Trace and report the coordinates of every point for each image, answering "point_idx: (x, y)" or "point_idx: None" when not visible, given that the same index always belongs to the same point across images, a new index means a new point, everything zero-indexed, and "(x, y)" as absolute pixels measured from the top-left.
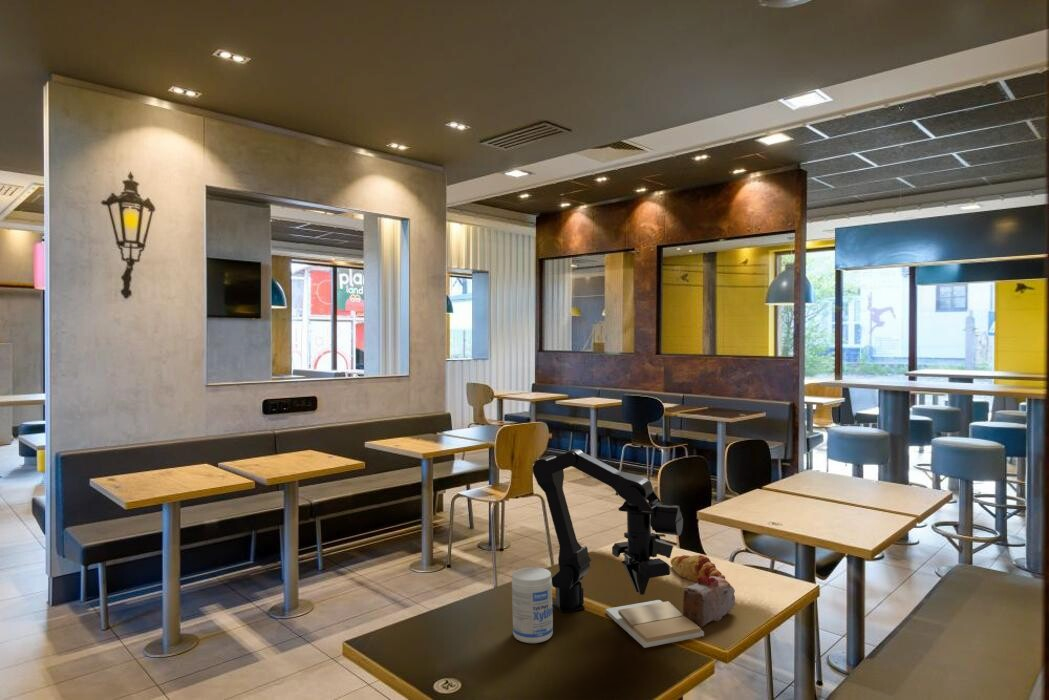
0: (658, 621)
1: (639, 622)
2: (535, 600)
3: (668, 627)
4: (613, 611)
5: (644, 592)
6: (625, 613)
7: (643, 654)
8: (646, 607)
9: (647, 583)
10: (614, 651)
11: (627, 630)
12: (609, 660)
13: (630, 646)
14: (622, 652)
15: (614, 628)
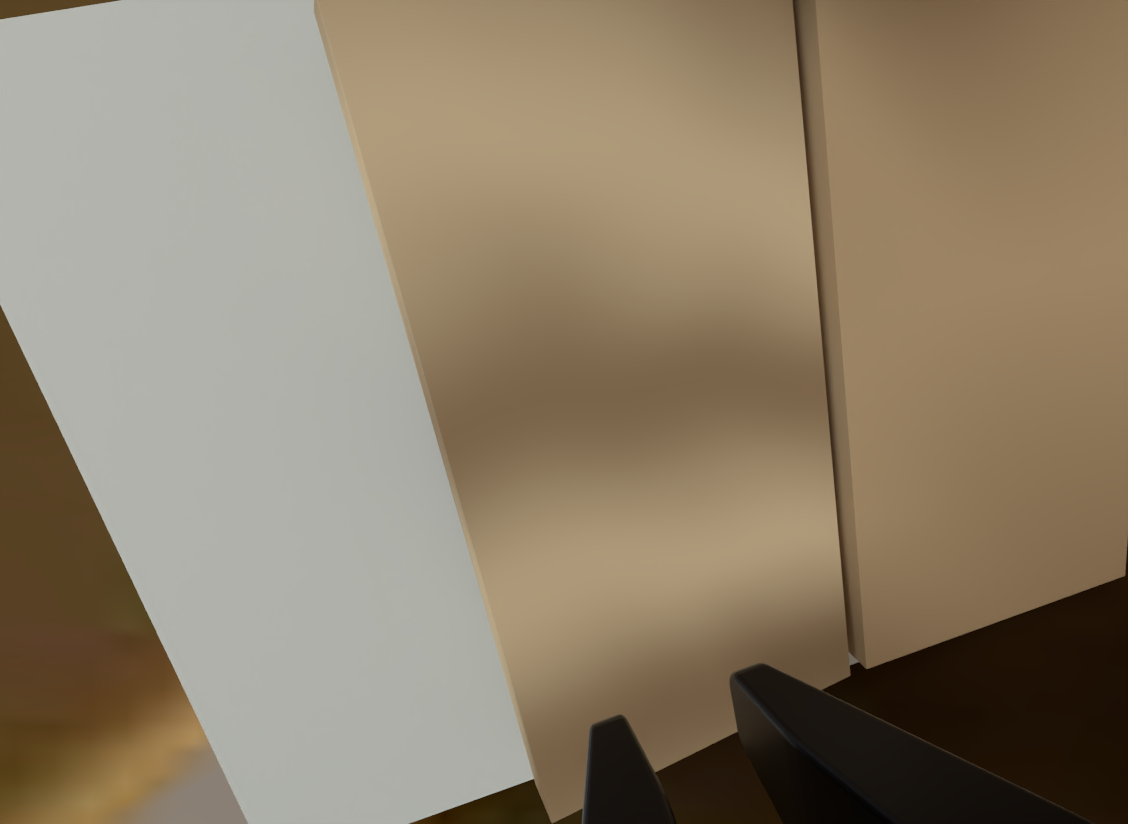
0: (858, 375)
1: (829, 596)
2: None
3: (1024, 301)
4: (360, 795)
5: (795, 685)
6: (641, 741)
7: (1124, 584)
8: (518, 461)
9: (1050, 809)
10: (1014, 772)
11: None
12: (1101, 804)
13: (991, 660)
14: (1045, 722)
15: None
